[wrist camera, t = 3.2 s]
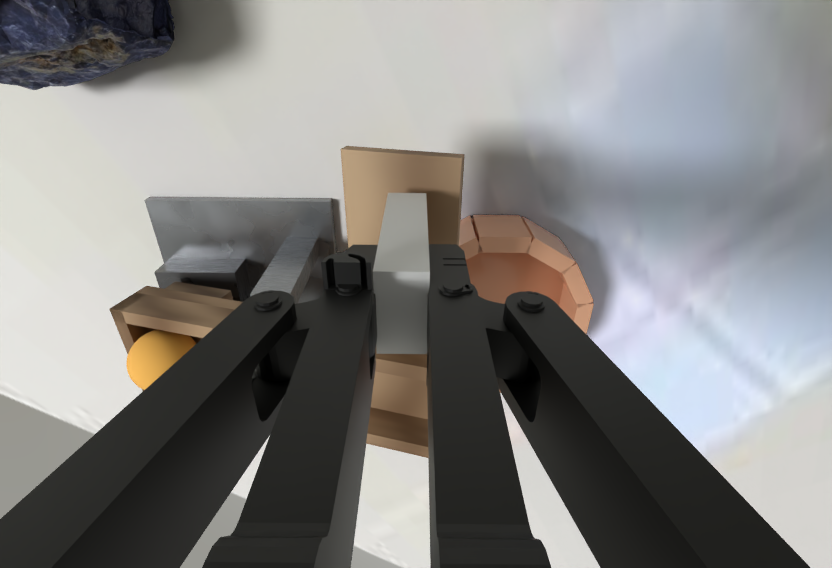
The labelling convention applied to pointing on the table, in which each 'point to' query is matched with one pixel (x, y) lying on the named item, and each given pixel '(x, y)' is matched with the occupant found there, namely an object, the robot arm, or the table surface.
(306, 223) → the pivot base
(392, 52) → the table surface
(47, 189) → the table surface
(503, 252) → the terracotta bowl
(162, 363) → the ball
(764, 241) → the table surface
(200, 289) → the lever
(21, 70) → the rock
